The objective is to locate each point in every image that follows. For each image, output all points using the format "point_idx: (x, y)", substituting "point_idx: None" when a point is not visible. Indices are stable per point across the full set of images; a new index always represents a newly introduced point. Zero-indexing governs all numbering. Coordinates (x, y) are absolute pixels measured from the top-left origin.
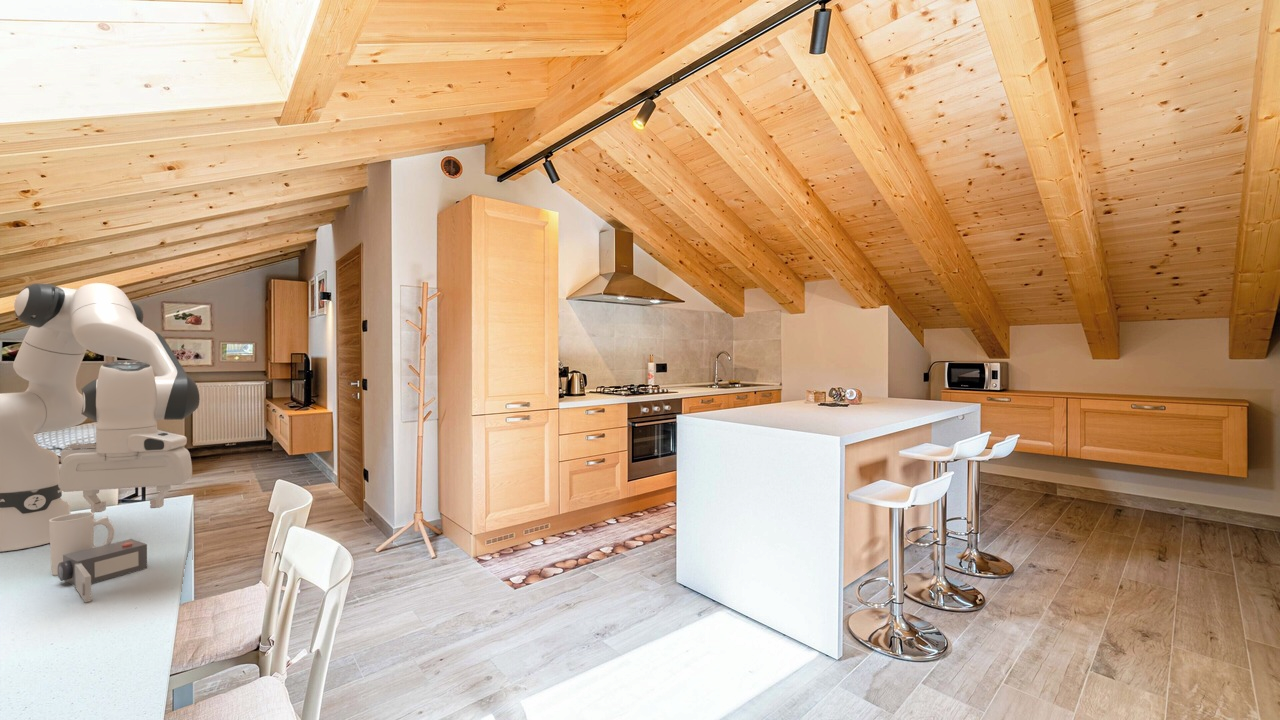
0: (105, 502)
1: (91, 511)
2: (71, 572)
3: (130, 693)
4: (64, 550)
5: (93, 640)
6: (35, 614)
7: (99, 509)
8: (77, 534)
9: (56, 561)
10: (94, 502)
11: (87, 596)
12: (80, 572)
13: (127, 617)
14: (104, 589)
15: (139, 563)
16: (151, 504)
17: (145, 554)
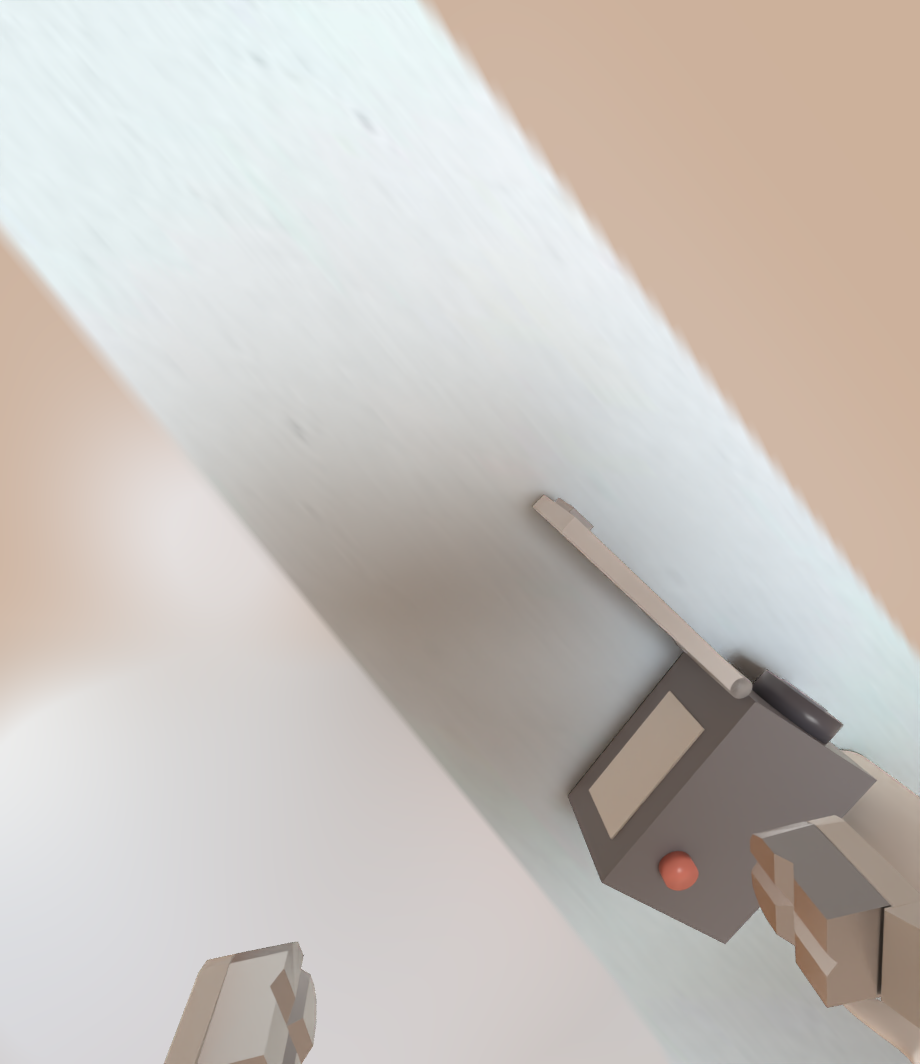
0: (819, 988)
1: (836, 818)
2: (760, 692)
3: None
4: (906, 826)
5: (208, 119)
6: (657, 421)
7: (777, 849)
8: None
9: (892, 787)
10: (909, 933)
11: (544, 502)
12: (656, 594)
13: (254, 337)
14: (575, 618)
15: (590, 799)
16: (267, 988)
17: (588, 838)
